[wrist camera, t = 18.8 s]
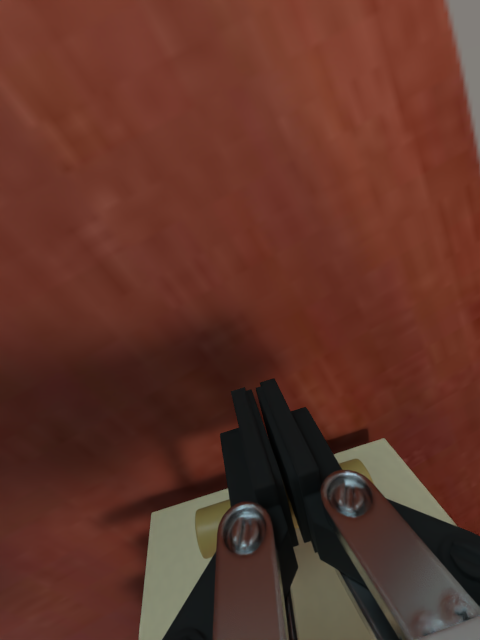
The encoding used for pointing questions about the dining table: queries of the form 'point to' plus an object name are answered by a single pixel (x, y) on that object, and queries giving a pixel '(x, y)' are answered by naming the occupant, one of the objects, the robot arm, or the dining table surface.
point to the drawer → (313, 574)
